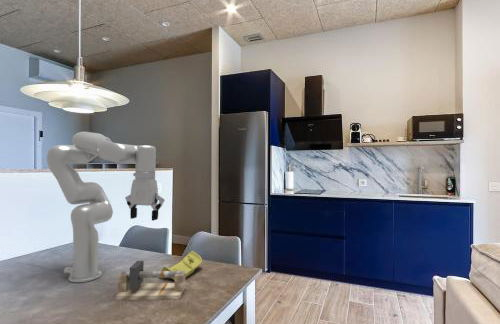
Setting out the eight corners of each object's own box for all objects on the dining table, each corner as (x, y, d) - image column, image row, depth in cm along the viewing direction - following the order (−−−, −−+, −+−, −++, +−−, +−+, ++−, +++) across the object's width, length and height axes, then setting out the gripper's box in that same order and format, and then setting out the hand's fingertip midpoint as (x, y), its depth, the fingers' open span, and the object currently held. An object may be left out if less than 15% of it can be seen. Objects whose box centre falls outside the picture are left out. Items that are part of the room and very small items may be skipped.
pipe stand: (114, 299, 105) (114, 276, 105) (126, 287, 116) (126, 266, 116) (181, 299, 105) (181, 276, 106) (186, 286, 116) (186, 266, 117)
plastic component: (180, 277, 120) (162, 264, 123) (174, 291, 122) (157, 278, 125) (205, 260, 138) (189, 248, 141) (200, 272, 140) (184, 261, 143)
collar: (129, 289, 106) (129, 267, 106) (137, 280, 114) (137, 260, 114) (136, 289, 106) (136, 267, 106) (143, 280, 114) (143, 260, 114)
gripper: (120, 175, 114) (119, 219, 114) (159, 177, 110) (157, 222, 110) (132, 175, 122) (131, 215, 122) (169, 176, 117) (168, 219, 117)
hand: (144, 219), depth 116 cm, fingers open, 9 cm apart
